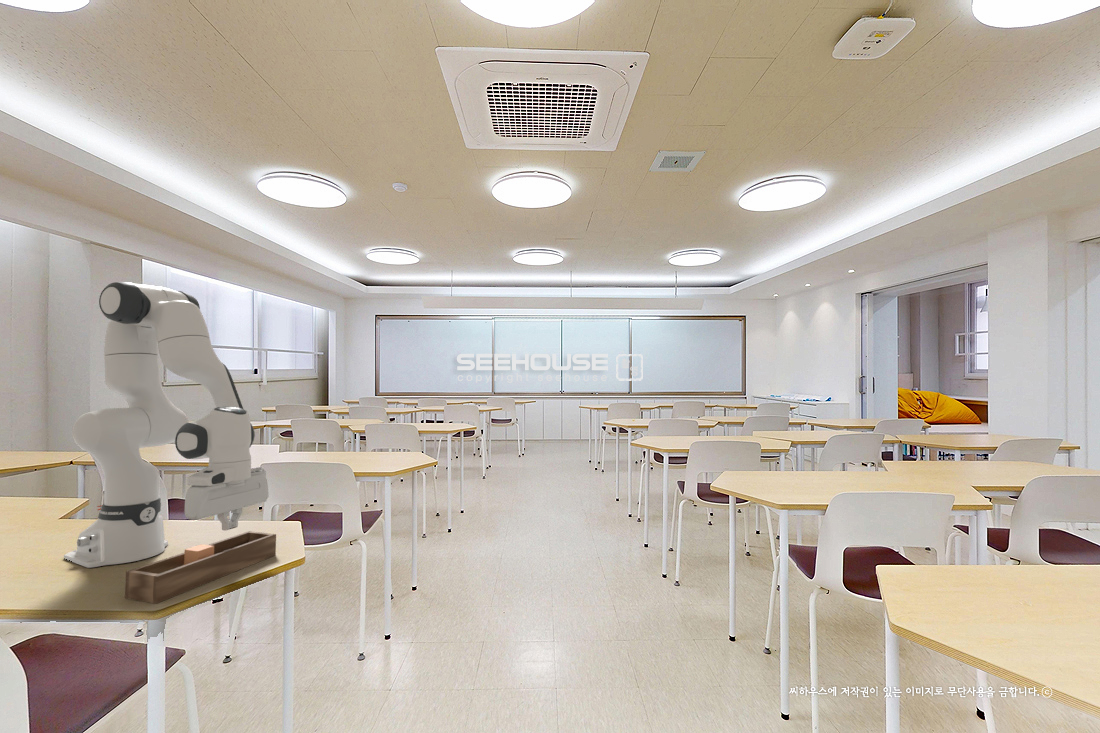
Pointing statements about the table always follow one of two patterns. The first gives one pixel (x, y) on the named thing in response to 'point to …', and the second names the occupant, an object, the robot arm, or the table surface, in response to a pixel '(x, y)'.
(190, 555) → the block
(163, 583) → the box
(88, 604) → the table surface
